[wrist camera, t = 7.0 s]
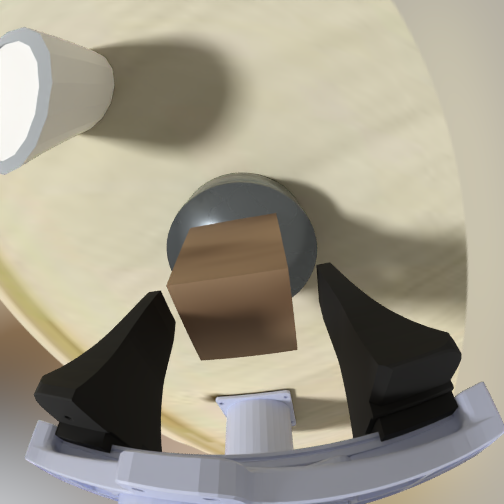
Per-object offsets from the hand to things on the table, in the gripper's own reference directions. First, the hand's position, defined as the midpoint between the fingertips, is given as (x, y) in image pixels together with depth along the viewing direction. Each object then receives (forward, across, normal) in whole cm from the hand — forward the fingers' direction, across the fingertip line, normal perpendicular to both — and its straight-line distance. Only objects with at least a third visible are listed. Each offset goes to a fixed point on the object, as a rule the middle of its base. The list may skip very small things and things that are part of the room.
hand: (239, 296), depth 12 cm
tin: (+6, 0, 0) cm, 6 cm away
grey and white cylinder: (+6, +8, -12) cm, 16 cm away
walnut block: (+3, 0, 0) cm, 3 cm away
